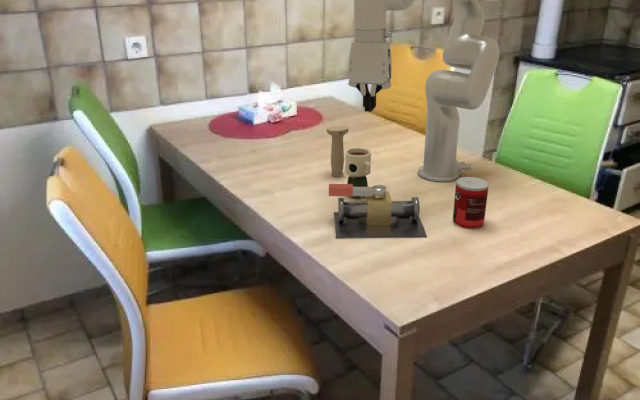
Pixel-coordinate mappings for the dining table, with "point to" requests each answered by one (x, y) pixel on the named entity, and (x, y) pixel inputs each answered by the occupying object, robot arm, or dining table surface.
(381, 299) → the dining table surface
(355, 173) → the character mug
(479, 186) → the canned food
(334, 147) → the handle
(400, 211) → the valve
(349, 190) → the lever
